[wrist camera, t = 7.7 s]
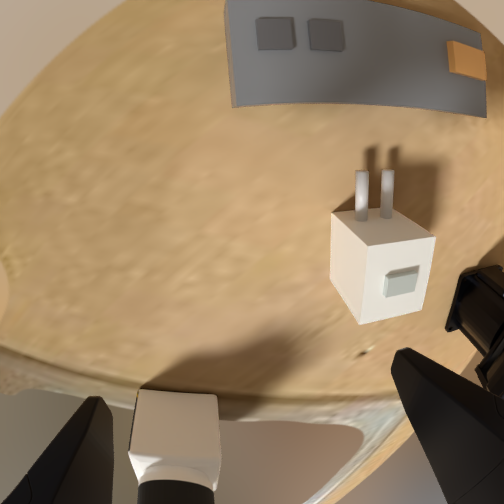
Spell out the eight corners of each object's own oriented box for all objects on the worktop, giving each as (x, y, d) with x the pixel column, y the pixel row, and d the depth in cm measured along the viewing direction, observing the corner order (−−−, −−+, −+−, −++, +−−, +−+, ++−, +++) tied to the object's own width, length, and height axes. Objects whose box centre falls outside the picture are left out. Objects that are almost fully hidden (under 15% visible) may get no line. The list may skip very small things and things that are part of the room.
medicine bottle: (137, 386, 25) (120, 509, 14) (217, 392, 26) (227, 516, 15) (145, 428, 28) (136, 530, 17) (212, 433, 29) (221, 536, 18)
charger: (383, 269, 23) (424, 313, 17) (329, 278, 22) (361, 329, 17) (391, 164, 19) (446, 186, 14) (330, 166, 19) (374, 190, 13)
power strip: (454, 113, 18) (492, 119, 14) (232, 107, 17) (237, 106, 13) (448, 37, 15) (486, 32, 11) (223, 13, 14) (227, -12, 10)
